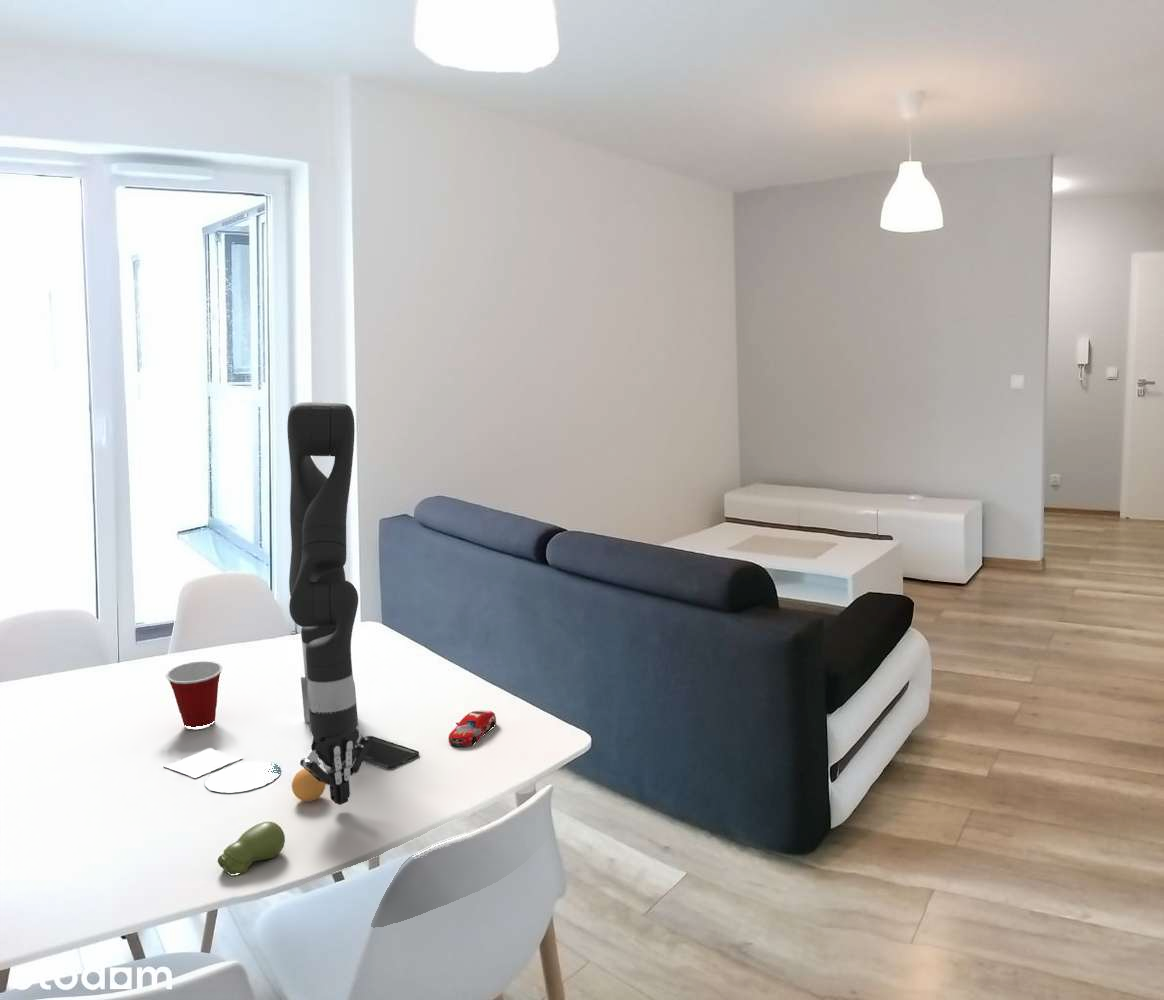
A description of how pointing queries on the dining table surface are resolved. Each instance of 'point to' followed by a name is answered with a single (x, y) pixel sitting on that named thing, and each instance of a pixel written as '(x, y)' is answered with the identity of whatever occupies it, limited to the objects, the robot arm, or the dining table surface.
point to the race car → (472, 728)
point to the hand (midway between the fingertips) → (340, 802)
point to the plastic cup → (196, 691)
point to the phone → (388, 754)
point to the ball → (307, 786)
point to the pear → (253, 847)
